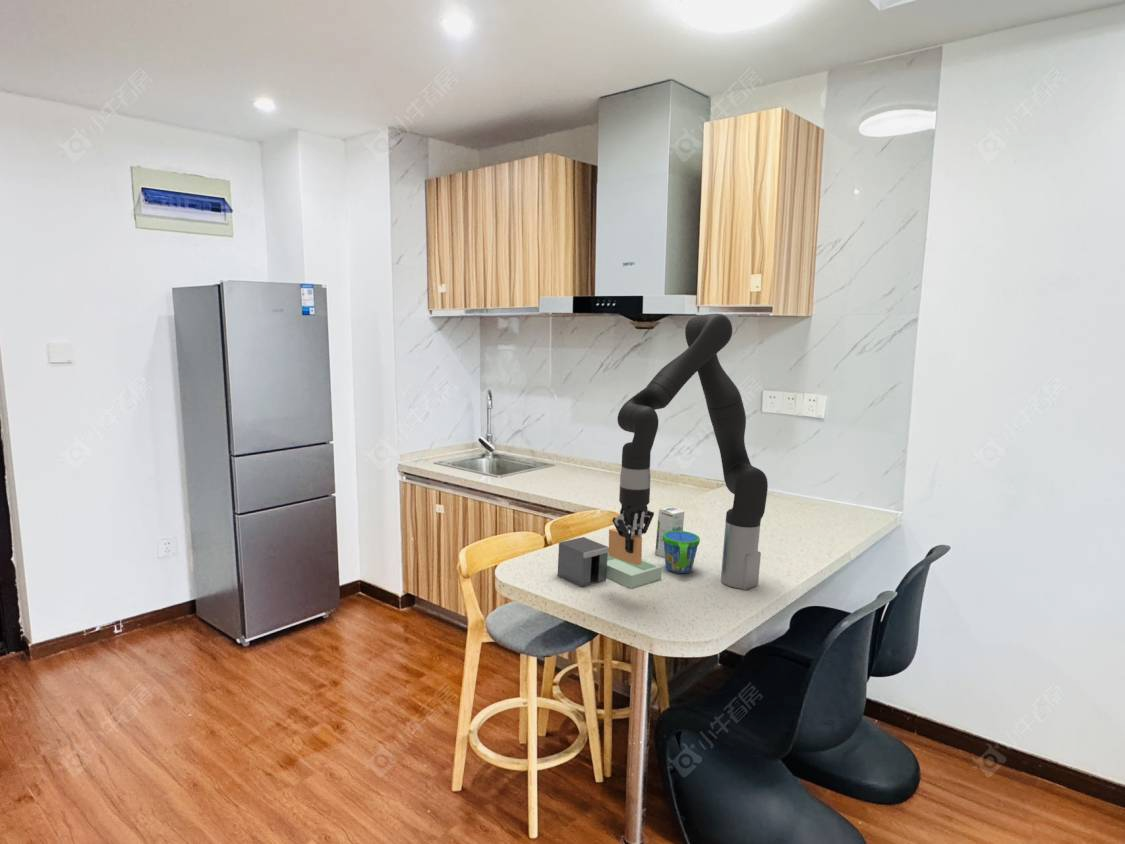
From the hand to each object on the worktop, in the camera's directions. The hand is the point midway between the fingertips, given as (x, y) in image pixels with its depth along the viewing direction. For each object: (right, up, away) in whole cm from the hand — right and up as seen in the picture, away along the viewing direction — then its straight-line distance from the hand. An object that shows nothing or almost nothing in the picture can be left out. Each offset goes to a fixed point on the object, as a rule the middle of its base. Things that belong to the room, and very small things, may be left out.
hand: (632, 551), depth 168 cm
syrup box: (+15, -9, +37) cm, 41 cm away
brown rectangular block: (-2, -3, +2) cm, 4 cm away
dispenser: (-12, -10, +15) cm, 22 cm away
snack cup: (+16, -10, +25) cm, 32 cm away
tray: (-1, -10, +20) cm, 22 cm away
